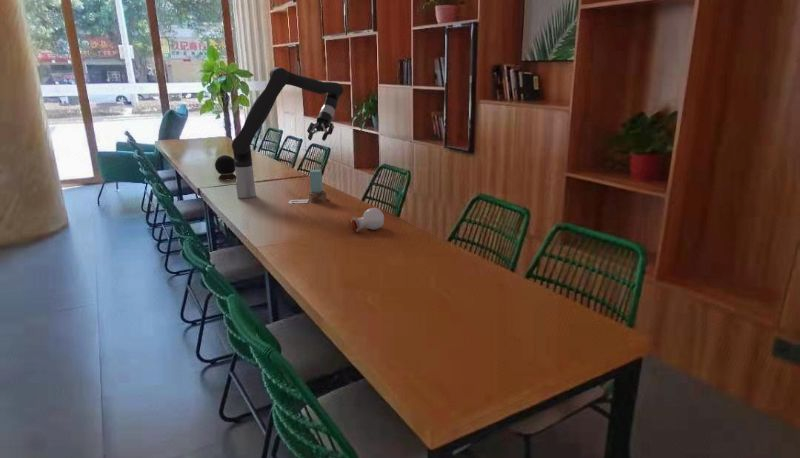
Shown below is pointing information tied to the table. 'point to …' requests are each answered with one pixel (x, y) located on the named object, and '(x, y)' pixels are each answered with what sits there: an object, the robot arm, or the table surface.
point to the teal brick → (316, 180)
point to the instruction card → (298, 201)
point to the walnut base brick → (317, 196)
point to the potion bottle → (368, 220)
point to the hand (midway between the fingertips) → (316, 139)
